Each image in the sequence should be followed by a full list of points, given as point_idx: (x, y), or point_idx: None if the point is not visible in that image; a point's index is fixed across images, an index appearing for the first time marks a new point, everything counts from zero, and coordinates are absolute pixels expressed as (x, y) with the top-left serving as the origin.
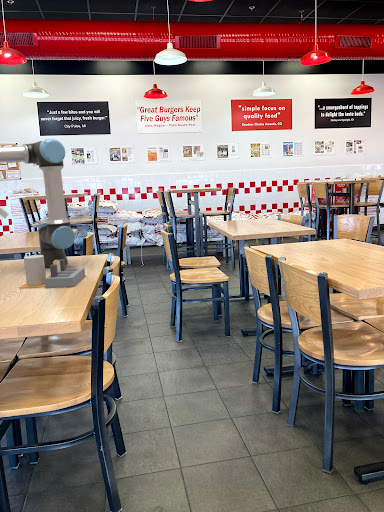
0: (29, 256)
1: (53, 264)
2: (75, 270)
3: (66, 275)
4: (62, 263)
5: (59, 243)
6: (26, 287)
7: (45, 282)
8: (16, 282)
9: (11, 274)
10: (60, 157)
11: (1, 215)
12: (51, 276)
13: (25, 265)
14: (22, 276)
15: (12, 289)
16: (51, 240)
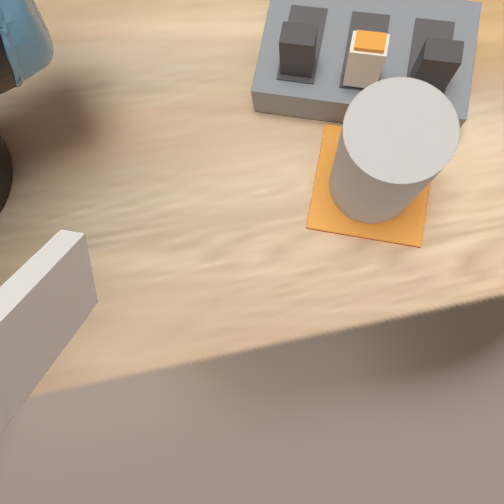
0: (380, 156)
1: (427, 51)
2: (327, 10)
3: (435, 31)
4: (316, 39)
5: (47, 33)
6: (424, 217)
7: (459, 124)
8: (285, 287)
9: (84, 350)
10: None
11: (64, 341)
12: (442, 91)
13: (423, 187)
14: (159, 285)
15: (427, 276)
16: (18, 66)
